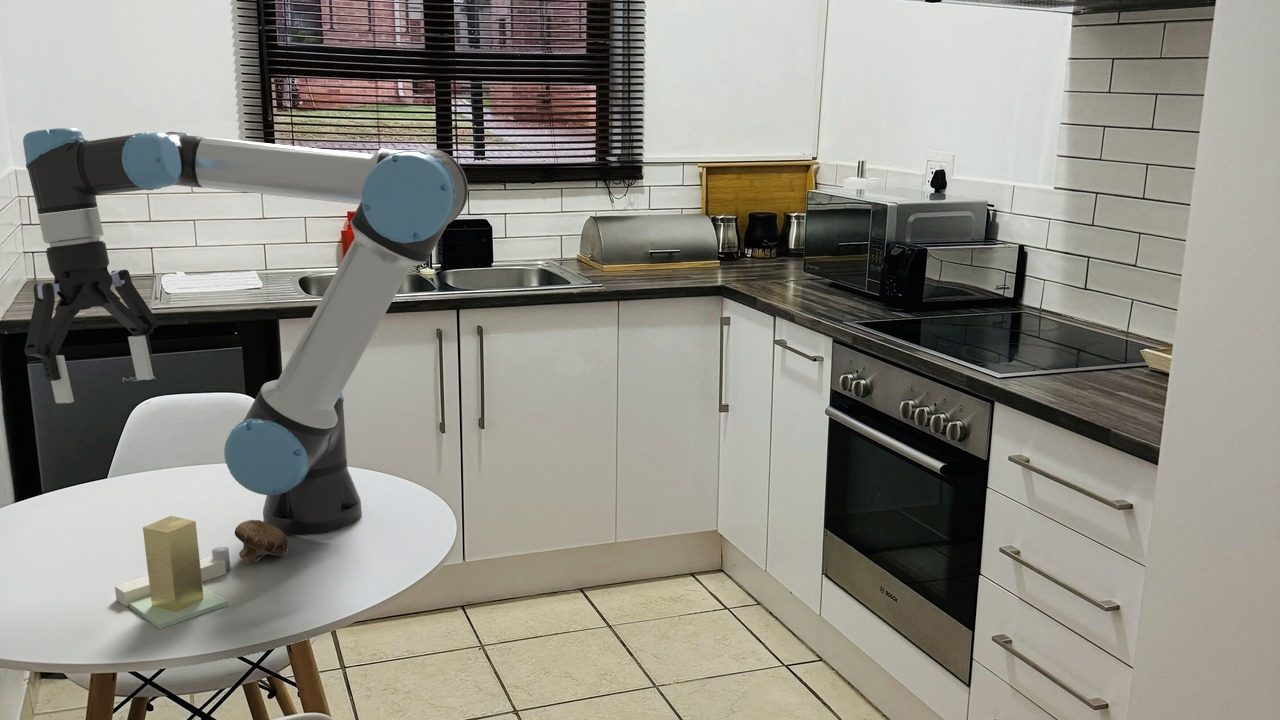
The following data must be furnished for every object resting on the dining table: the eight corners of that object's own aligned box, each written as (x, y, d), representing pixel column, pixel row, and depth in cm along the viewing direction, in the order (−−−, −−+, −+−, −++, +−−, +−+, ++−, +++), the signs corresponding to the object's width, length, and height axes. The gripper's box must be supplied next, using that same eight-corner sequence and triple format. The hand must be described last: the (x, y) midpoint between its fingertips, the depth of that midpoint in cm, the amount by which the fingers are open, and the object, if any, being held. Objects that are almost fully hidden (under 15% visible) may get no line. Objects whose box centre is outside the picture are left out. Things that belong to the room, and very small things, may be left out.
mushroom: (224, 553, 154) (243, 512, 156) (223, 554, 162) (241, 515, 163) (278, 574, 156) (297, 533, 158) (274, 574, 164) (292, 535, 166)
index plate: (195, 585, 151) (195, 581, 151) (227, 605, 146) (226, 601, 145) (130, 607, 145) (129, 603, 145) (159, 628, 139) (159, 624, 139)
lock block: (179, 592, 148) (170, 515, 146) (203, 598, 146) (195, 521, 144) (151, 605, 144) (142, 527, 142) (176, 612, 142) (167, 532, 140)
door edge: (224, 565, 158) (222, 544, 157) (234, 571, 156) (232, 550, 155) (116, 599, 147) (113, 577, 147) (125, 606, 145) (123, 584, 145)
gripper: (129, 233, 165) (157, 371, 169) (-28, 256, 143) (8, 413, 147) (165, 230, 162) (193, 369, 166) (10, 252, 140) (46, 413, 144)
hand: (106, 390), depth 156 cm, fingers open, 13 cm apart
